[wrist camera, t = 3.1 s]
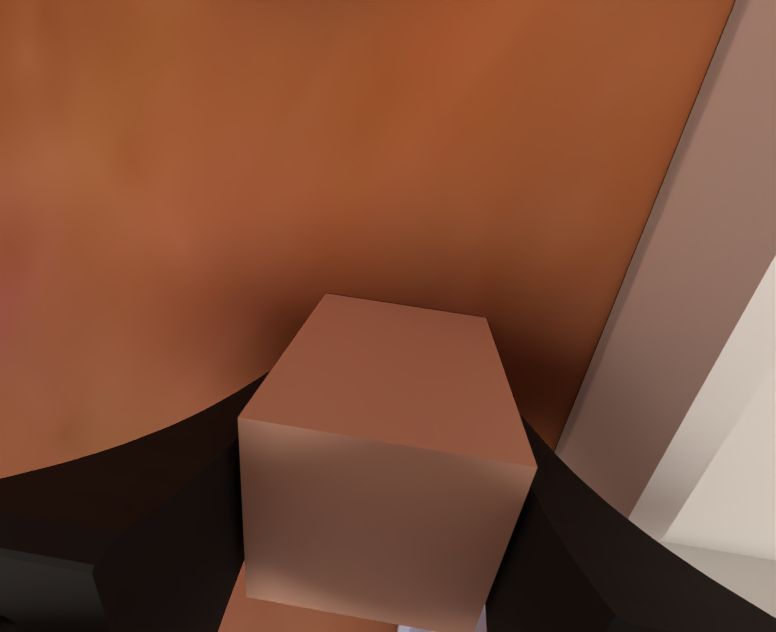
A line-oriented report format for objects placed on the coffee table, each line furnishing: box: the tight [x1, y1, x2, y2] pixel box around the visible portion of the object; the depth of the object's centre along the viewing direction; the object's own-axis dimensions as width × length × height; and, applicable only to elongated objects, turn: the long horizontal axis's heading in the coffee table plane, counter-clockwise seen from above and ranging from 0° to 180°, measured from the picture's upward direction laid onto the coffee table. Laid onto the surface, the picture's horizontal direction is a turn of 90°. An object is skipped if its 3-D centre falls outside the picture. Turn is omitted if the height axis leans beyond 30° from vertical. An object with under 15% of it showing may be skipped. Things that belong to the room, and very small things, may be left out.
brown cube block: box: [238, 293, 538, 632], centre depth 10 cm, size 5×5×6 cm
